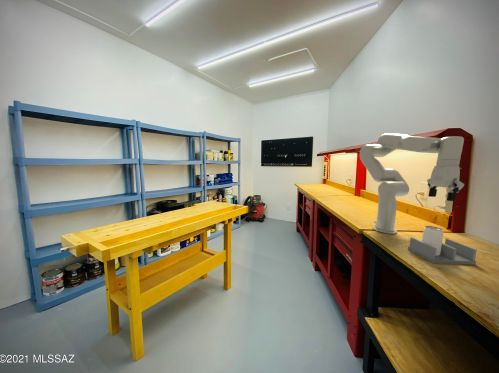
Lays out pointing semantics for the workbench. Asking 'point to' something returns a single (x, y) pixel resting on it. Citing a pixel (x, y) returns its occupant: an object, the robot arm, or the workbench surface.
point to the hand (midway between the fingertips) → (440, 198)
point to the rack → (444, 252)
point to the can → (433, 237)
